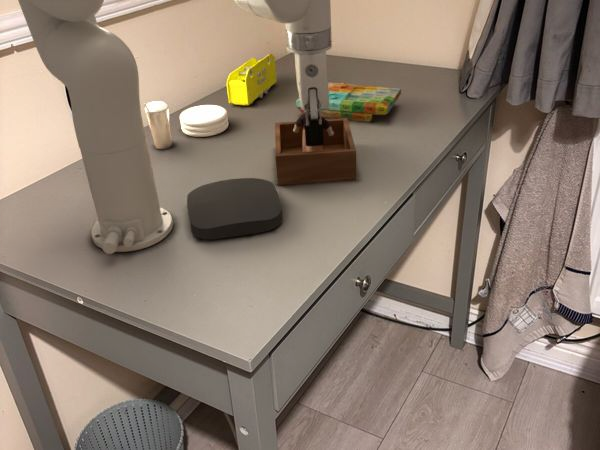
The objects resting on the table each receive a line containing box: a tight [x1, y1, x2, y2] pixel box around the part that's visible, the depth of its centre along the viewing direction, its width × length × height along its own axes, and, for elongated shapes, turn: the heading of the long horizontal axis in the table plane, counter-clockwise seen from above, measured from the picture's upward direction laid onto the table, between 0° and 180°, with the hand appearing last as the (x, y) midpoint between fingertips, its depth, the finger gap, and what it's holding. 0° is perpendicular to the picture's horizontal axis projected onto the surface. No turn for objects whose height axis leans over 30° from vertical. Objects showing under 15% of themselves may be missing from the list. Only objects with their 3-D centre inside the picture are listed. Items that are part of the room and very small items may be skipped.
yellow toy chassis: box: [225, 53, 277, 106], centre depth 148 cm, size 16×6×8 cm, turn 158°
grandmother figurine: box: [293, 105, 334, 152], centre depth 114 cm, size 8×4×13 cm, turn 78°
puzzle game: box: [295, 82, 402, 122], centre depth 138 cm, size 12×5×20 cm
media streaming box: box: [186, 177, 284, 240], centre depth 103 cm, size 15×15×3 cm
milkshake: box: [143, 100, 172, 150], centre depth 126 cm, size 4×5×10 cm
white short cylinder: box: [179, 104, 229, 138], centre depth 134 cm, size 10×10×4 cm
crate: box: [274, 118, 357, 186], centre depth 116 cm, size 15×14×6 cm
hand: (314, 139), depth 115 cm, fingers closed on grandmother figurine, 3 cm apart
